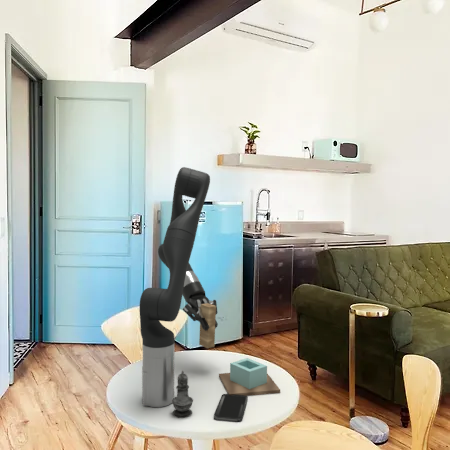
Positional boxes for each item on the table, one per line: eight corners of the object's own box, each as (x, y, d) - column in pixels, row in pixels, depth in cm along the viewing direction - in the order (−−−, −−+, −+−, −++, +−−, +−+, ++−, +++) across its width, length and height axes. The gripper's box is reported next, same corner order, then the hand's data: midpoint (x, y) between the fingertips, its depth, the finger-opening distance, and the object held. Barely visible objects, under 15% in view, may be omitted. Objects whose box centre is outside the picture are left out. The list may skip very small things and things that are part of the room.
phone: (212, 417, 121) (222, 393, 136) (212, 421, 121) (222, 397, 136) (241, 419, 120) (248, 395, 135) (241, 424, 120) (248, 399, 135)
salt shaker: (168, 416, 123) (168, 373, 122) (176, 406, 129) (177, 365, 128) (188, 419, 122) (188, 376, 121) (196, 409, 127) (196, 368, 126)
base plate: (229, 397, 135) (229, 394, 135) (218, 376, 151) (218, 373, 151) (280, 392, 139) (280, 389, 139) (264, 373, 154) (264, 370, 154)
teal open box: (249, 389, 139) (249, 371, 138) (230, 379, 146) (230, 363, 145) (266, 382, 144) (267, 365, 143) (247, 374, 151) (247, 358, 150)
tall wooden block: (207, 348, 151) (208, 307, 150) (199, 344, 154) (200, 304, 153) (214, 346, 153) (215, 306, 152) (206, 342, 156) (207, 303, 155)
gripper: (178, 282, 153) (199, 325, 145) (210, 278, 163) (232, 319, 154) (169, 295, 158) (189, 338, 149) (201, 290, 167) (222, 330, 158)
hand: (211, 328), depth 152 cm, fingers closed on tall wooden block, 3 cm apart
